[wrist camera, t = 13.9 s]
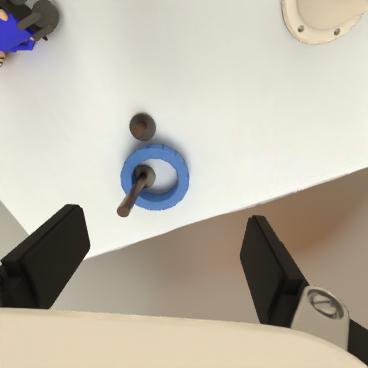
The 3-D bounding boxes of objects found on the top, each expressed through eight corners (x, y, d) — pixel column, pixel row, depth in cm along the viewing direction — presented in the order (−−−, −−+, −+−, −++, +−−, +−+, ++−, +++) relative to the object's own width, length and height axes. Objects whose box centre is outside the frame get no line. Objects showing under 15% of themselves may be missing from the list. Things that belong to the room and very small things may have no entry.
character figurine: (75, 37, 30) (4, 75, 33) (44, -22, 27) (-32, 26, 29) (43, 23, 23) (-44, 73, 26) (-4, -59, 20) (-98, 8, 22)
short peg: (155, 114, 34) (151, 117, 30) (155, 141, 36) (151, 146, 32) (130, 112, 34) (121, 114, 30) (131, 139, 36) (122, 144, 32)
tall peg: (155, 166, 38) (139, 198, 26) (155, 187, 40) (140, 226, 28) (132, 164, 38) (104, 196, 26) (133, 185, 40) (107, 224, 27)
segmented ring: (189, 145, 37) (191, 149, 34) (185, 203, 42) (186, 210, 39) (122, 142, 36) (117, 146, 33) (126, 202, 41) (123, 209, 38)
